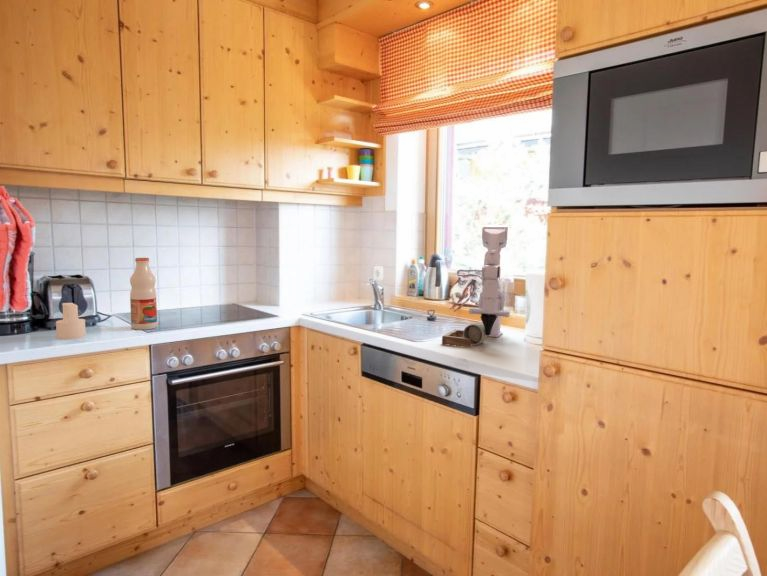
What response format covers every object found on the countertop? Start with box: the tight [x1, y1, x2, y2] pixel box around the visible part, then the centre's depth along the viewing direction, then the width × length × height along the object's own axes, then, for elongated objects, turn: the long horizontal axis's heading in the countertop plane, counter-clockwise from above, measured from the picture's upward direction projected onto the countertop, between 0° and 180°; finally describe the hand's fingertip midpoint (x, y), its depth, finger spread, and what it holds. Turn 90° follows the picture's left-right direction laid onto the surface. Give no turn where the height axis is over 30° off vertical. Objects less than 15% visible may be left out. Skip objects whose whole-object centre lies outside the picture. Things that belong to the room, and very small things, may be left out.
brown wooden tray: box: [441, 329, 472, 348], centre depth 190 cm, size 15×10×3 cm
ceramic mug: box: [461, 322, 489, 346], centre depth 189 cm, size 11×8×8 cm
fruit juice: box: [129, 257, 158, 331], centre depth 201 cm, size 9×9×28 cm
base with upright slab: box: [55, 302, 87, 341], centre depth 182 cm, size 9×9×12 cm
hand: (488, 334), depth 185 cm, fingers closed
